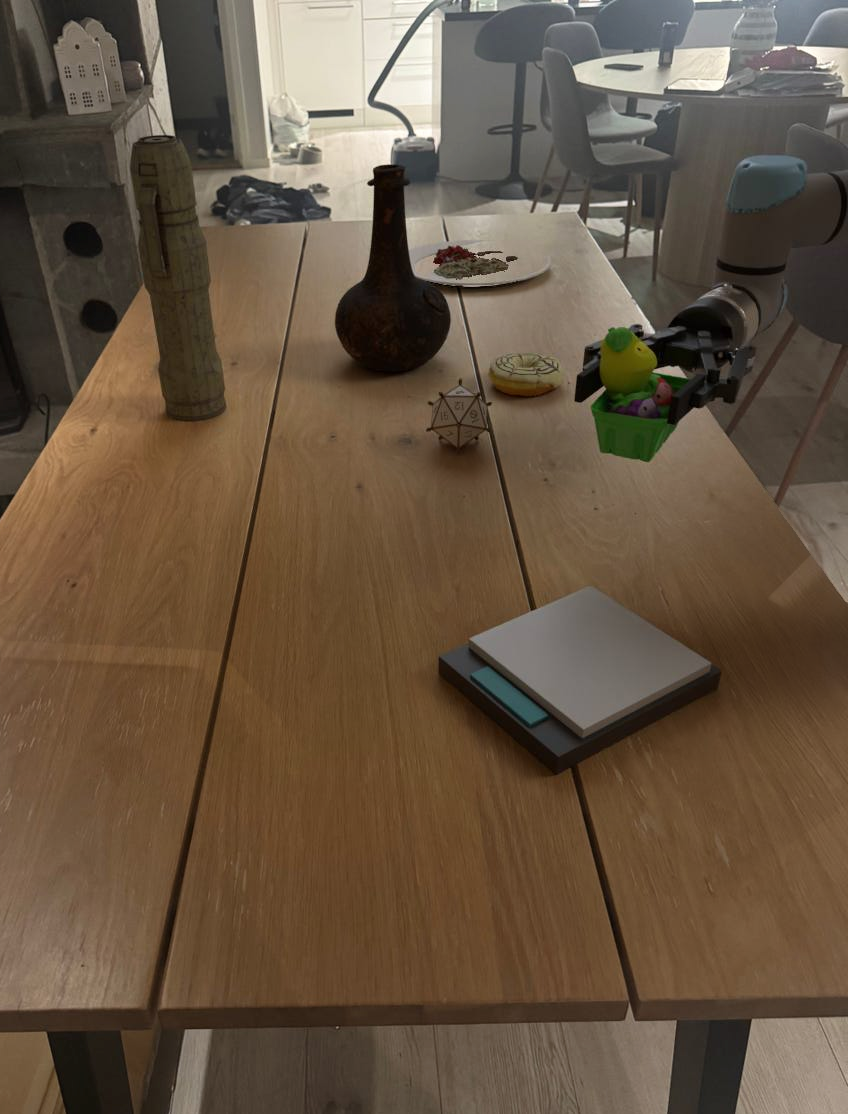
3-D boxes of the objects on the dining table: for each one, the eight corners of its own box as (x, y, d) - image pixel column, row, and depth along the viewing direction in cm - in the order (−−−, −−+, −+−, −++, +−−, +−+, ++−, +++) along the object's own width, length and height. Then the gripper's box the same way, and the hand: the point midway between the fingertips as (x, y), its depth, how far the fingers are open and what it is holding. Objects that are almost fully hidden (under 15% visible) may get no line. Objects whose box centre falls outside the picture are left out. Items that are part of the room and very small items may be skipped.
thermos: (154, 425, 134) (105, 148, 113) (177, 392, 143) (136, 130, 122) (216, 426, 133) (178, 147, 112) (235, 393, 142) (203, 129, 121)
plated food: (507, 302, 172) (508, 283, 170) (367, 280, 185) (367, 262, 183) (574, 260, 192) (576, 243, 190) (444, 242, 205) (444, 226, 203)
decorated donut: (572, 395, 138) (575, 370, 135) (501, 403, 136) (502, 377, 134) (548, 369, 146) (550, 345, 144) (480, 376, 144) (481, 351, 142)
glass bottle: (418, 391, 141) (418, 184, 124) (315, 371, 148) (302, 174, 131) (468, 351, 153) (475, 158, 136) (371, 335, 160) (365, 150, 144)
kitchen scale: (718, 688, 85) (724, 661, 83) (556, 775, 77) (559, 747, 75) (591, 604, 96) (594, 579, 94) (438, 673, 88) (438, 647, 86)
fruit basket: (657, 471, 93) (676, 357, 86) (571, 452, 96) (582, 342, 90) (691, 427, 100) (711, 319, 94) (610, 411, 104) (623, 306, 97)
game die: (451, 464, 130) (454, 390, 130) (505, 457, 124) (507, 380, 124) (410, 453, 123) (413, 375, 123) (464, 445, 117) (467, 363, 117)
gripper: (624, 281, 109) (527, 340, 95) (821, 313, 98) (745, 385, 84) (616, 345, 114) (522, 411, 99) (803, 383, 103) (728, 463, 89)
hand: (624, 399), depth 92 cm, fingers closed on fruit basket, 9 cm apart
